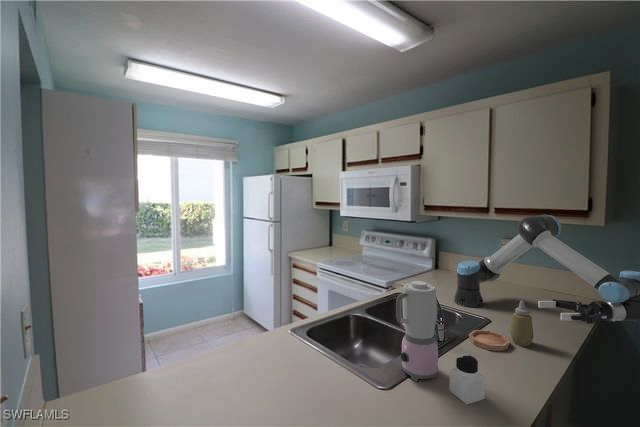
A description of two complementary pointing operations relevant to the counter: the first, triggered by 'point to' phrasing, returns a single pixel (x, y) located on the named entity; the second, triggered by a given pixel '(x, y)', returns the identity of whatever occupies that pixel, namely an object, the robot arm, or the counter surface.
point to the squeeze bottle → (522, 326)
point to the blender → (418, 329)
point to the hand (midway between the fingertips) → (549, 310)
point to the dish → (489, 340)
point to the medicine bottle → (467, 380)
